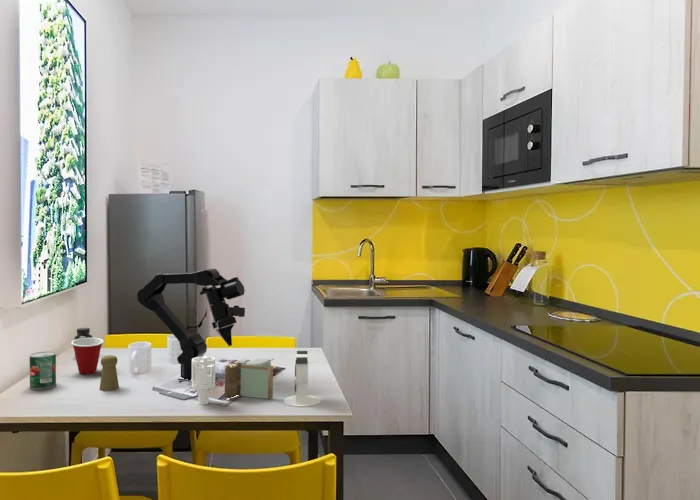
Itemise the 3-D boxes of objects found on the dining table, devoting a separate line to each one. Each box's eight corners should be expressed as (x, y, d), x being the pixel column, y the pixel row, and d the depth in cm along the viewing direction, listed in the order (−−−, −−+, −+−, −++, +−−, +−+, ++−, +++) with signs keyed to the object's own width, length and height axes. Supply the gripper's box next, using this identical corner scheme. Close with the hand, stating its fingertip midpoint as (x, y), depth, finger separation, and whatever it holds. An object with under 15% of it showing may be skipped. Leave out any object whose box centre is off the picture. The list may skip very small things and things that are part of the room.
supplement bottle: (87, 354, 237) (87, 326, 237) (96, 357, 233) (96, 328, 233) (71, 357, 232) (70, 328, 231) (80, 360, 228) (79, 330, 227)
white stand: (284, 395, 185) (285, 349, 184) (319, 395, 186) (320, 349, 185) (283, 407, 173) (283, 358, 172) (320, 406, 174) (320, 358, 173)
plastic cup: (76, 378, 202) (76, 344, 201) (67, 372, 210) (67, 340, 209) (108, 373, 209) (107, 341, 208) (98, 367, 217) (98, 336, 216)
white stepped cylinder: (193, 407, 171) (193, 358, 170) (190, 401, 177) (190, 353, 177) (217, 405, 174) (217, 356, 173) (212, 398, 180) (213, 352, 180)
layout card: (159, 393, 185) (159, 392, 185) (181, 387, 192) (181, 385, 192) (183, 400, 178) (183, 398, 178) (205, 393, 186) (205, 392, 186)
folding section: (242, 394, 184) (242, 363, 184) (273, 397, 181) (273, 366, 181) (240, 395, 182) (240, 365, 182) (271, 398, 180) (271, 367, 179)
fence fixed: (223, 399, 179) (223, 366, 179) (238, 394, 185) (238, 361, 184) (227, 400, 178) (227, 366, 178) (242, 395, 184) (242, 362, 183)
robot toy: (225, 375, 212) (260, 376, 206) (224, 363, 212) (259, 364, 206) (242, 367, 223) (276, 368, 218) (241, 356, 223) (275, 357, 218)
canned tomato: (24, 388, 189) (23, 355, 189) (44, 381, 197) (43, 350, 196) (42, 390, 187) (41, 357, 186) (61, 384, 194) (61, 352, 193)
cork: (114, 384, 194) (114, 352, 194) (121, 388, 190) (121, 356, 190) (96, 388, 190) (96, 355, 190) (103, 392, 186) (103, 358, 185)
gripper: (243, 294, 194) (257, 338, 194) (235, 298, 211) (247, 338, 211) (212, 304, 190) (225, 349, 189) (206, 307, 207) (218, 348, 207)
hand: (230, 345), depth 199 cm, fingers closed
